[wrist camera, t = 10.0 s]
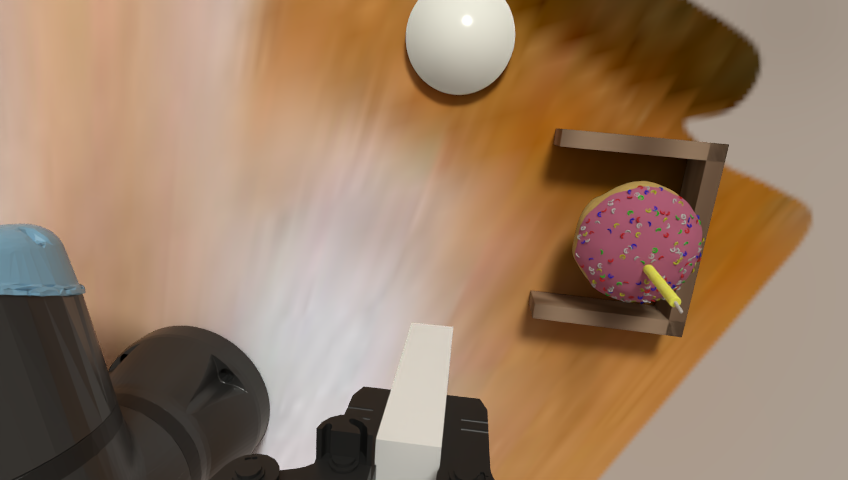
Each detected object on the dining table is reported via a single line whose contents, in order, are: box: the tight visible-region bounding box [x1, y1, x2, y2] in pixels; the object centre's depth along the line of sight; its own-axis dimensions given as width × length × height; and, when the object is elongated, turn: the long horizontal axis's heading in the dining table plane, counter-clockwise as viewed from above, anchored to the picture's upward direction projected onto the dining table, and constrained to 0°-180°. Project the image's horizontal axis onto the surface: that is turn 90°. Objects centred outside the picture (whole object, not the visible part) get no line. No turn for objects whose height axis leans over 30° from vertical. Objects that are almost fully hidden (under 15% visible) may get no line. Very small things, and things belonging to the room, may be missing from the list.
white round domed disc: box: [406, 0, 515, 95], centre depth 35 cm, size 8×8×1 cm
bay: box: [529, 129, 729, 337], centre depth 36 cm, size 11×14×3 cm
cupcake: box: [572, 181, 704, 314], centre depth 32 cm, size 9×8×12 cm
